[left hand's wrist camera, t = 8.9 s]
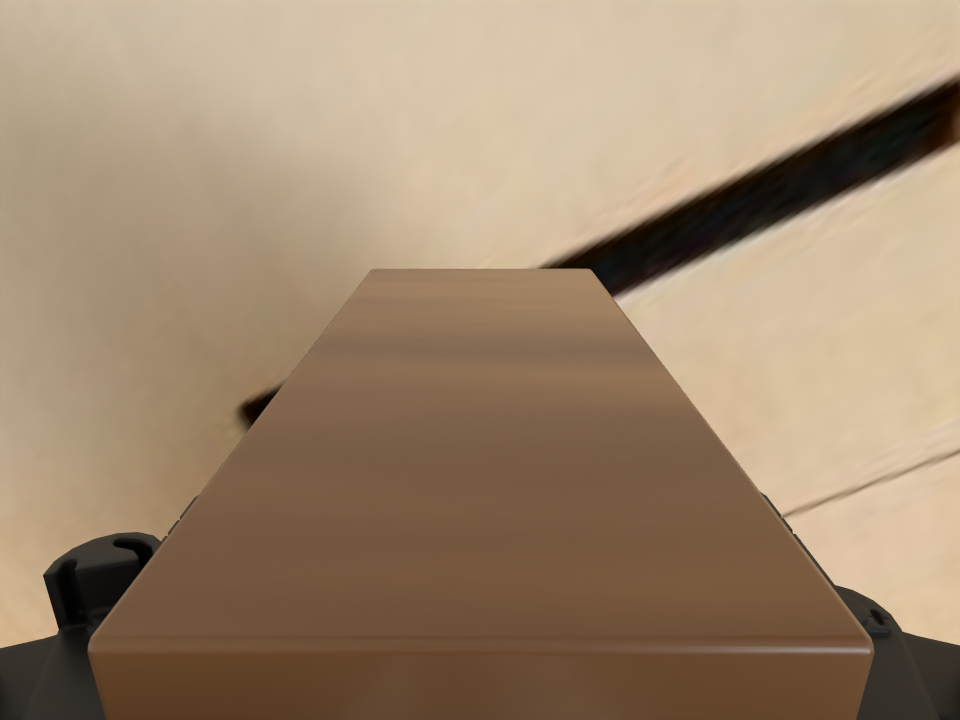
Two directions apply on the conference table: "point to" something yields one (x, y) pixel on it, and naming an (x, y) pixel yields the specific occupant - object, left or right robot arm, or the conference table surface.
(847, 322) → the conference table surface
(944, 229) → the conference table surface
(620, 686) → the box
